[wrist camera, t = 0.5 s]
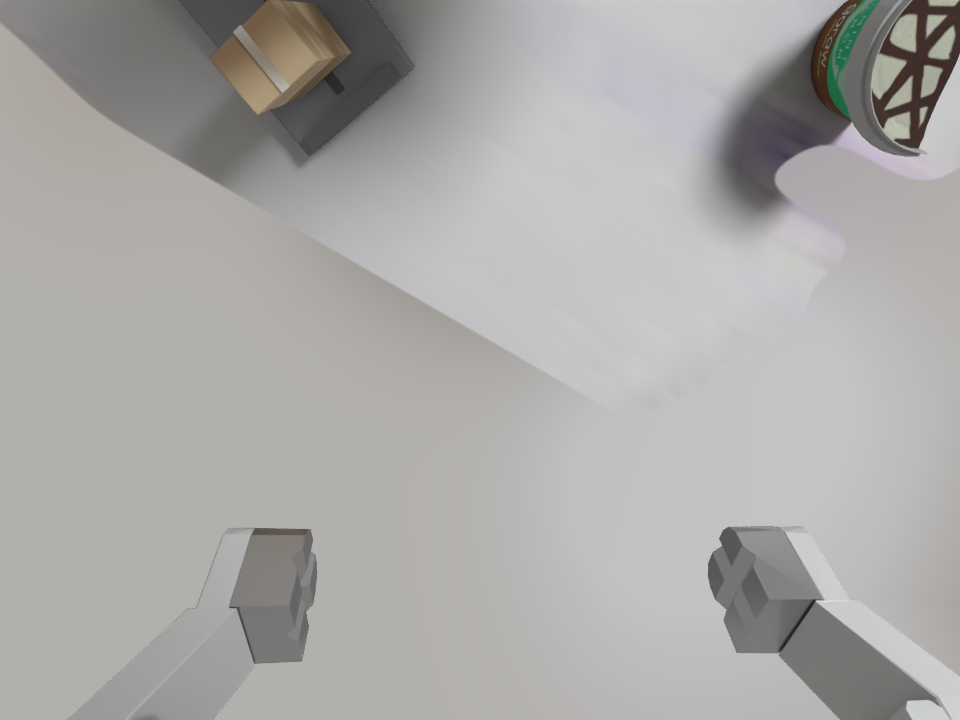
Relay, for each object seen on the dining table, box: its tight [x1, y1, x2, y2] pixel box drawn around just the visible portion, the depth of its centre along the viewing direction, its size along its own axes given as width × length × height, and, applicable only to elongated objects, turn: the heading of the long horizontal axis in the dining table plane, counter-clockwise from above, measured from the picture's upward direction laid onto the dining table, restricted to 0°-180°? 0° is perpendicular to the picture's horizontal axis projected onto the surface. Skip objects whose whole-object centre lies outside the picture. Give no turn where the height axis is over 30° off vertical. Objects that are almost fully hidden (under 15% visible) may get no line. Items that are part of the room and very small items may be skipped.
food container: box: [811, 0, 960, 156], centre depth 42 cm, size 12×6×10 cm, turn 177°
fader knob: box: [209, 0, 352, 115], centre depth 41 cm, size 4×5×10 cm
